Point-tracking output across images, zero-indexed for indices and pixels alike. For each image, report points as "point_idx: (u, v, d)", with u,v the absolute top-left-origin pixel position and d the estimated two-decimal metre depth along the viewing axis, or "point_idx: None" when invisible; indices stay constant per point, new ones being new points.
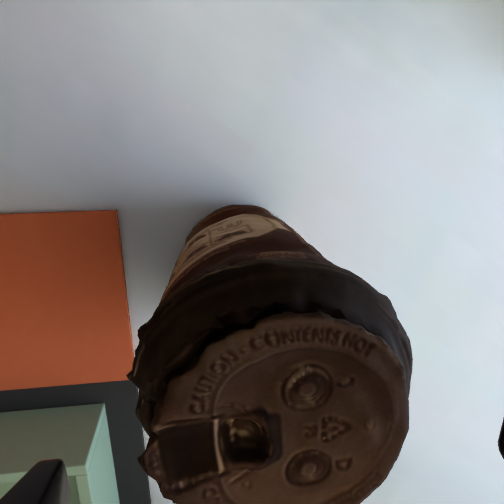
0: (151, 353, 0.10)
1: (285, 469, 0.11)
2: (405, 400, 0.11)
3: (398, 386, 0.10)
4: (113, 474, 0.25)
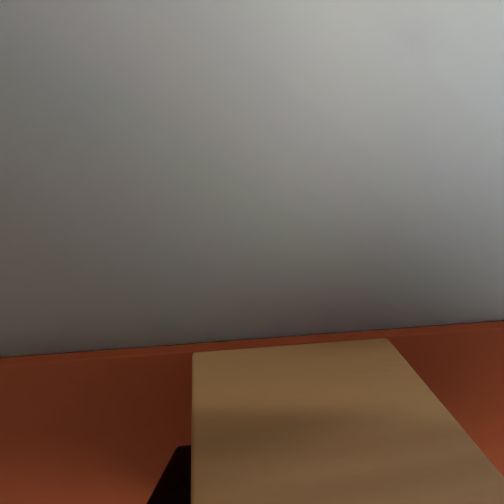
0: None
1: None
2: None
3: None
4: None
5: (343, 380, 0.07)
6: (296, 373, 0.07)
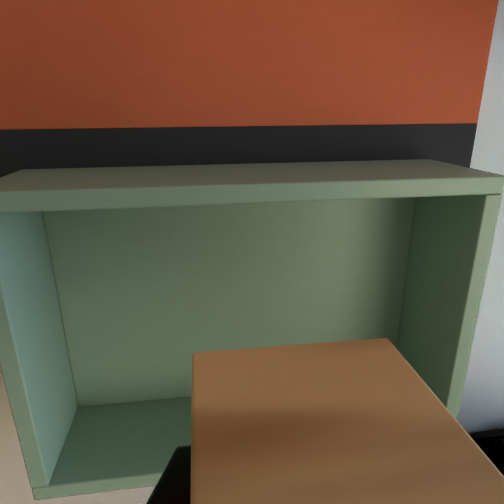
0: None
1: None
2: None
3: None
4: None
5: (343, 380, 0.07)
6: (296, 373, 0.07)
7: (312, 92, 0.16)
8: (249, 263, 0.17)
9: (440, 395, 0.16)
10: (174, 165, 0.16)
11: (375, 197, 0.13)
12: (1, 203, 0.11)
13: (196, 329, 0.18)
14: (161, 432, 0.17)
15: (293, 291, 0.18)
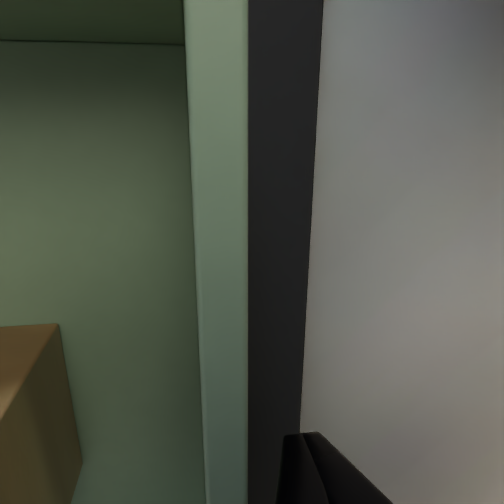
0: None
1: None
2: None
3: None
4: None
5: None
6: None
7: None
8: None
9: None
10: None
11: None
12: None
13: None
14: None
15: None
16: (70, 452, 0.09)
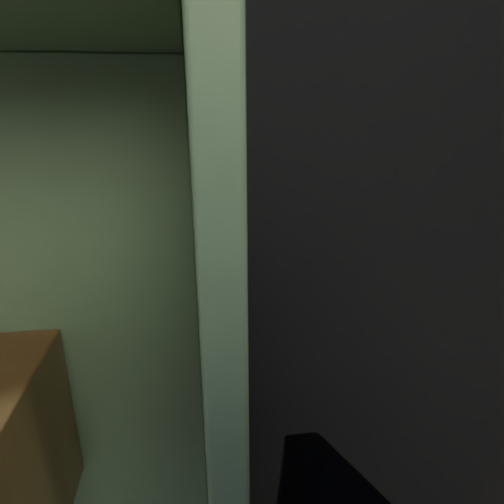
0: None
1: None
2: None
3: None
4: None
5: None
6: None
7: None
8: None
9: None
10: None
11: None
12: None
13: None
14: None
15: None
16: (71, 456, 0.09)
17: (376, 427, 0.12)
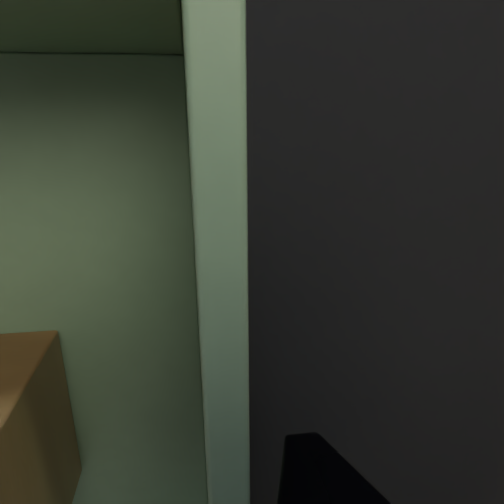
0: None
1: None
2: None
3: None
4: None
5: None
6: None
7: None
8: None
9: None
10: None
11: None
12: None
13: None
14: None
15: None
16: (69, 458, 0.09)
17: (471, 417, 0.12)
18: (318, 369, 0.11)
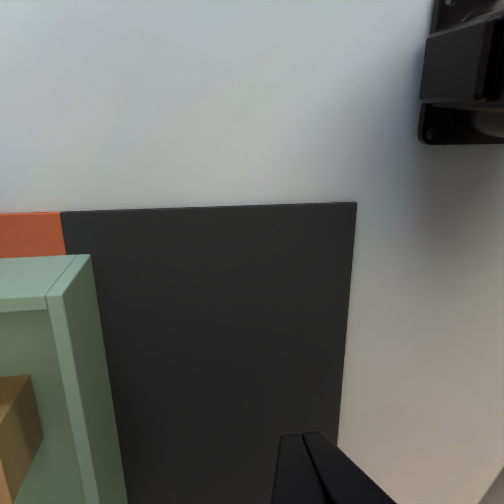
0: None
1: None
2: None
3: None
4: None
5: None
6: None
7: None
8: None
9: None
10: None
11: None
12: None
13: None
14: None
15: None
16: (36, 431, 0.21)
17: (246, 414, 0.23)
18: (158, 390, 0.22)
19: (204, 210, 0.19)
